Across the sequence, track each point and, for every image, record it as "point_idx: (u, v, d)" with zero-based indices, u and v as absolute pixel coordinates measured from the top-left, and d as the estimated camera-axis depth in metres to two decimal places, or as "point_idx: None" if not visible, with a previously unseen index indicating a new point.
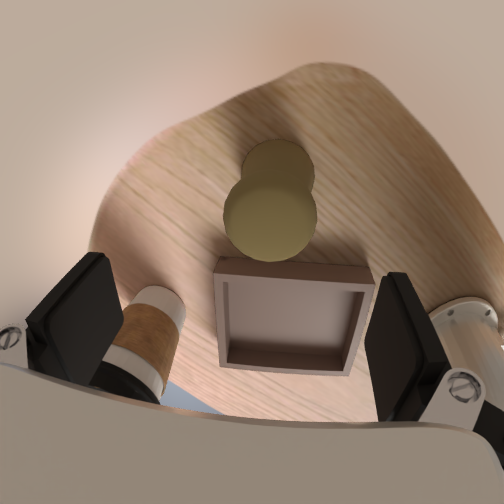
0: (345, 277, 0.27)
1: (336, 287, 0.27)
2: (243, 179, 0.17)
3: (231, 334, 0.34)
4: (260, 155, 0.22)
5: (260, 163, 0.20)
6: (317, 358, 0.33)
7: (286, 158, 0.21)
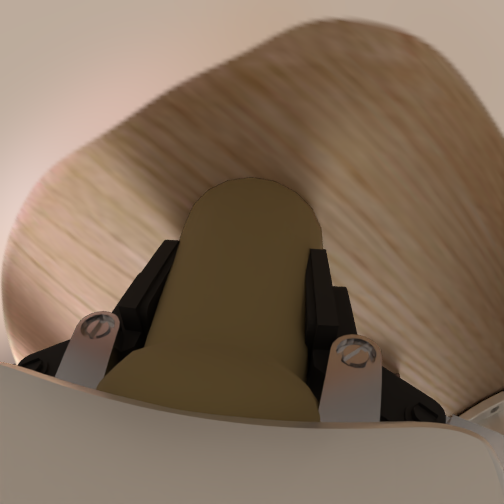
0: None
1: None
2: None
3: None
4: (203, 231, 0.10)
5: (192, 267, 0.08)
6: None
7: (260, 247, 0.09)
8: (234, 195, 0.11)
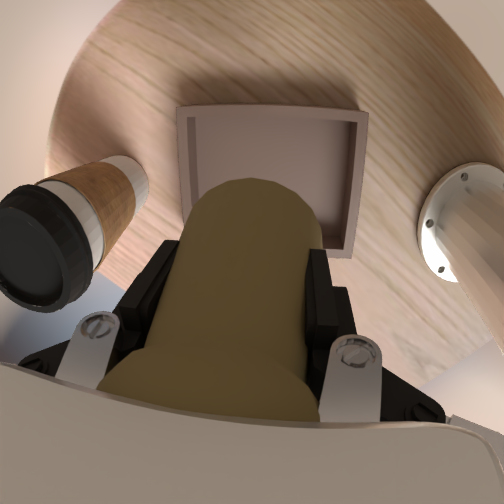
0: (332, 108, 0.21)
1: (322, 115, 0.21)
2: None
3: None
4: (203, 231, 0.10)
5: (192, 267, 0.08)
6: None
7: (260, 248, 0.09)
8: (234, 195, 0.11)
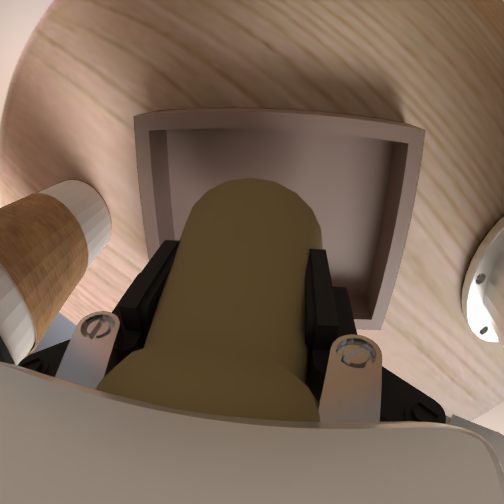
0: (370, 119, 0.14)
1: (357, 131, 0.13)
2: None
3: None
4: (202, 231, 0.10)
5: (192, 268, 0.08)
6: None
7: (260, 248, 0.09)
8: (234, 195, 0.11)
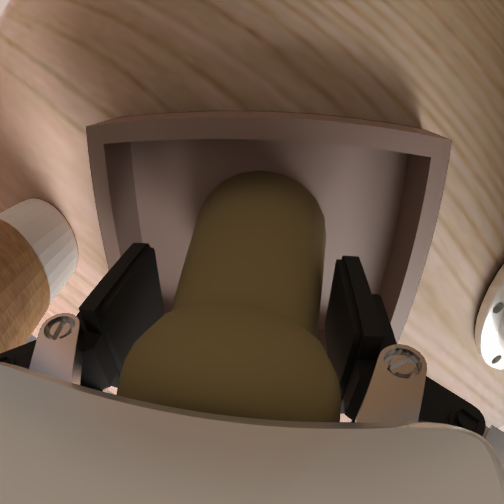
0: (383, 125, 0.11)
1: (367, 141, 0.10)
2: (146, 346, 0.06)
3: None
4: (220, 216, 0.11)
5: (213, 246, 0.09)
6: (323, 337, 0.17)
7: (273, 229, 0.10)
8: (246, 185, 0.12)
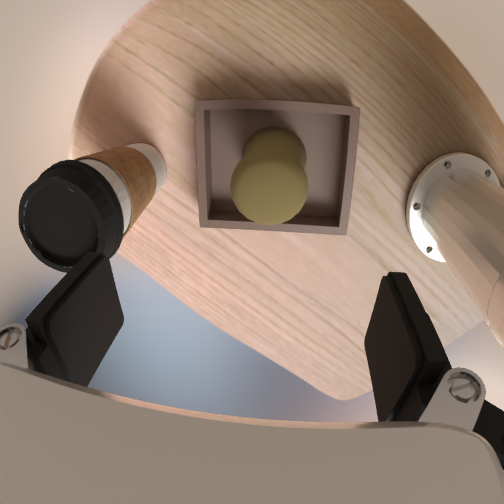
0: None
1: (320, 110, 0.25)
2: (247, 156, 0.20)
3: (213, 191, 0.32)
4: (259, 139, 0.25)
5: (259, 145, 0.24)
6: (309, 217, 0.31)
7: (281, 141, 0.24)
8: (269, 131, 0.27)
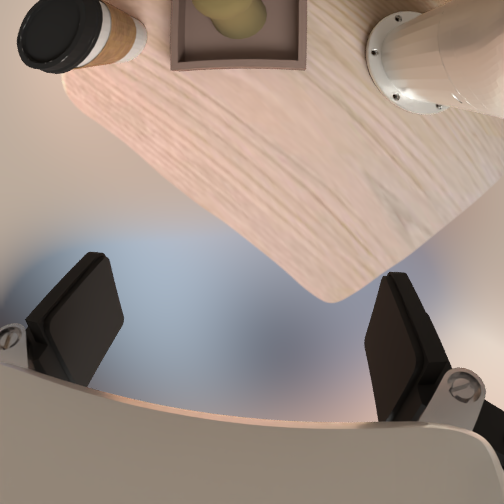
0: None
1: None
2: None
3: (186, 47, 0.30)
4: None
5: None
6: None
7: None
8: None
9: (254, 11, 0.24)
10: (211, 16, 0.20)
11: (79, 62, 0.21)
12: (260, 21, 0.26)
